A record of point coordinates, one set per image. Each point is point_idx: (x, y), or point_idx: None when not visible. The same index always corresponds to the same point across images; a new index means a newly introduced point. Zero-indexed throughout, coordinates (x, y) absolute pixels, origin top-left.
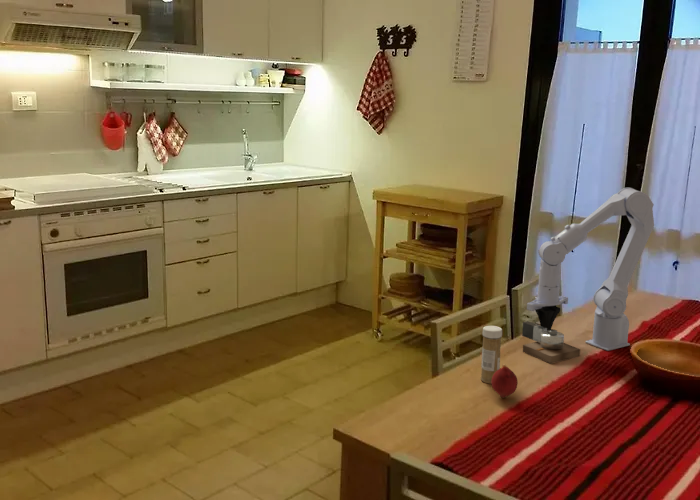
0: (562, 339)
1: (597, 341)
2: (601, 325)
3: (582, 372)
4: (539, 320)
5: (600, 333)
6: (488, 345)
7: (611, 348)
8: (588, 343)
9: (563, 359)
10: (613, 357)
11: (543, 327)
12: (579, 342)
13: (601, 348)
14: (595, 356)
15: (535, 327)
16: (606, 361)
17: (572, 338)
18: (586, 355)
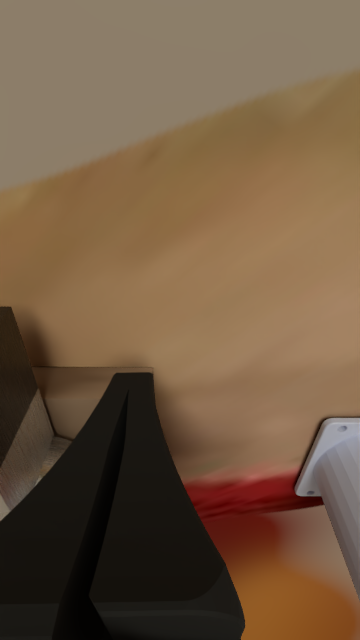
0: None
1: (321, 480)
2: (356, 588)
3: None
4: (73, 441)
5: (337, 532)
6: None
7: (317, 495)
8: (318, 433)
9: None
10: (252, 511)
11: (3, 515)
12: (314, 400)
13: (300, 474)
14: (208, 492)
15: None
16: (199, 517)
17: (351, 353)
18: (188, 479)
